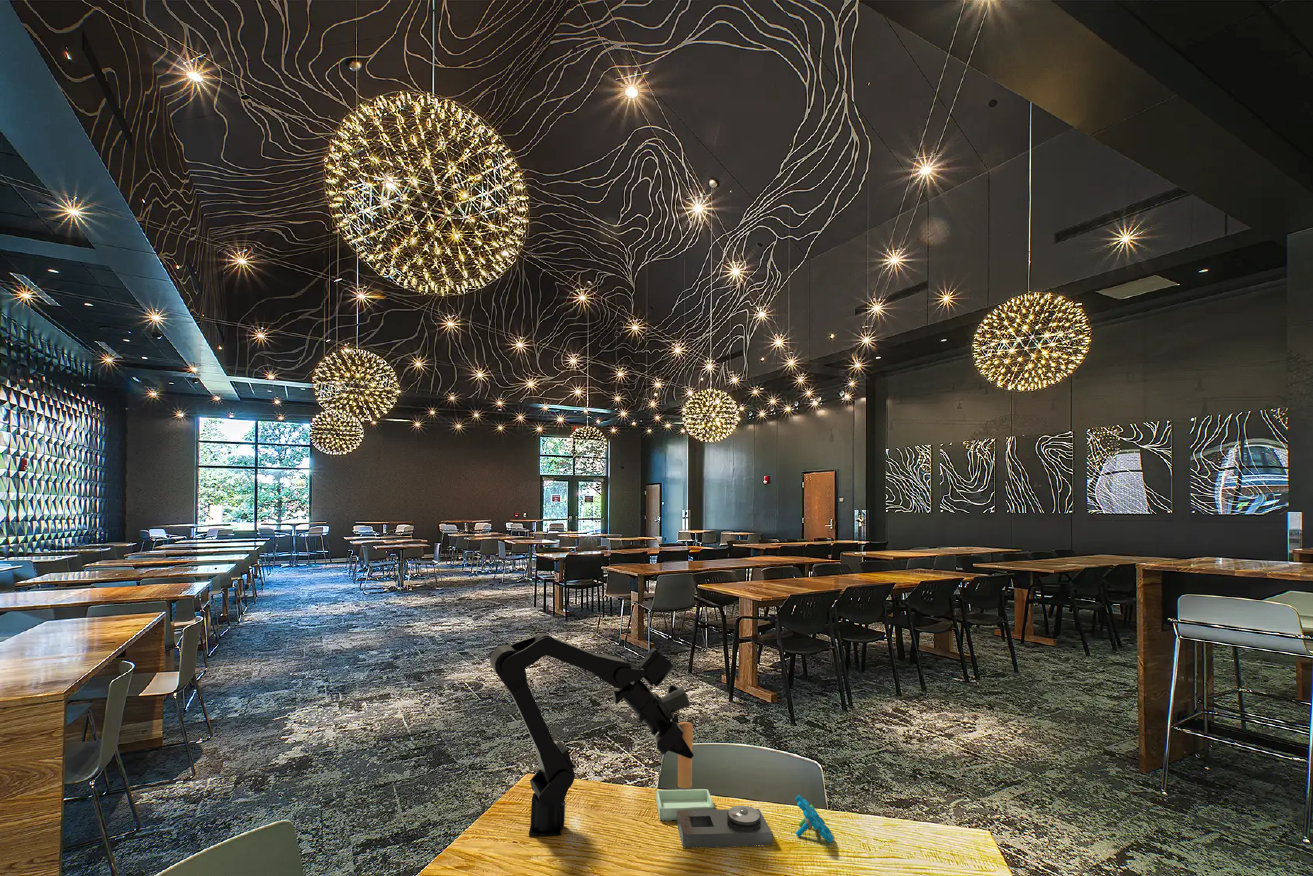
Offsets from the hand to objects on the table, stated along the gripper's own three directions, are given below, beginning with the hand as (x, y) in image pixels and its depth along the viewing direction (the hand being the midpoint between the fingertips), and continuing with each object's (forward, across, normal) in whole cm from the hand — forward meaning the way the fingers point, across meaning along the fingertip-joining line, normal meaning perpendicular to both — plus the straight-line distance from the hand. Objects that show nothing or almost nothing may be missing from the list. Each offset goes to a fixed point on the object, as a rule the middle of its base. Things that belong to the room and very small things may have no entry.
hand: (691, 754), depth 135 cm
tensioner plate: (+12, -10, +5) cm, 17 cm away
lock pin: (+4, 0, +6) cm, 7 cm away
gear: (+26, -12, -8) cm, 29 cm away
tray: (+8, 0, +9) cm, 12 cm away
